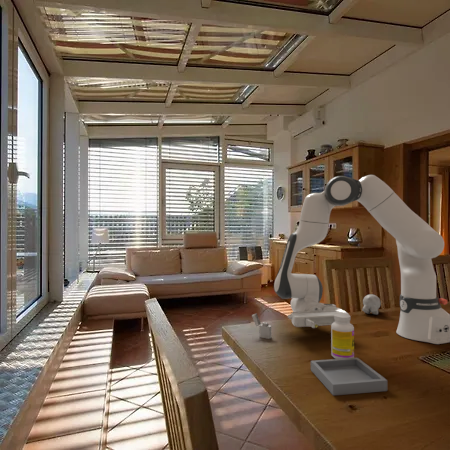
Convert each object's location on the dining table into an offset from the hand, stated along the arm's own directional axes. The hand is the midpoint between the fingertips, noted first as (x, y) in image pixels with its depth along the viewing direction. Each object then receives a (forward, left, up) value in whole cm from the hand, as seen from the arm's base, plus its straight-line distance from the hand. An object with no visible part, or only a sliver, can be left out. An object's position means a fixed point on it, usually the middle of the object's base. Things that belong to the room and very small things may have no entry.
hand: (329, 324), depth 113 cm
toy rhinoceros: (-36, -34, -7) cm, 50 cm away
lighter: (+20, -12, -7) cm, 25 cm away
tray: (+6, +24, -7) cm, 25 cm away
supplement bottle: (0, +10, -7) cm, 12 cm away
